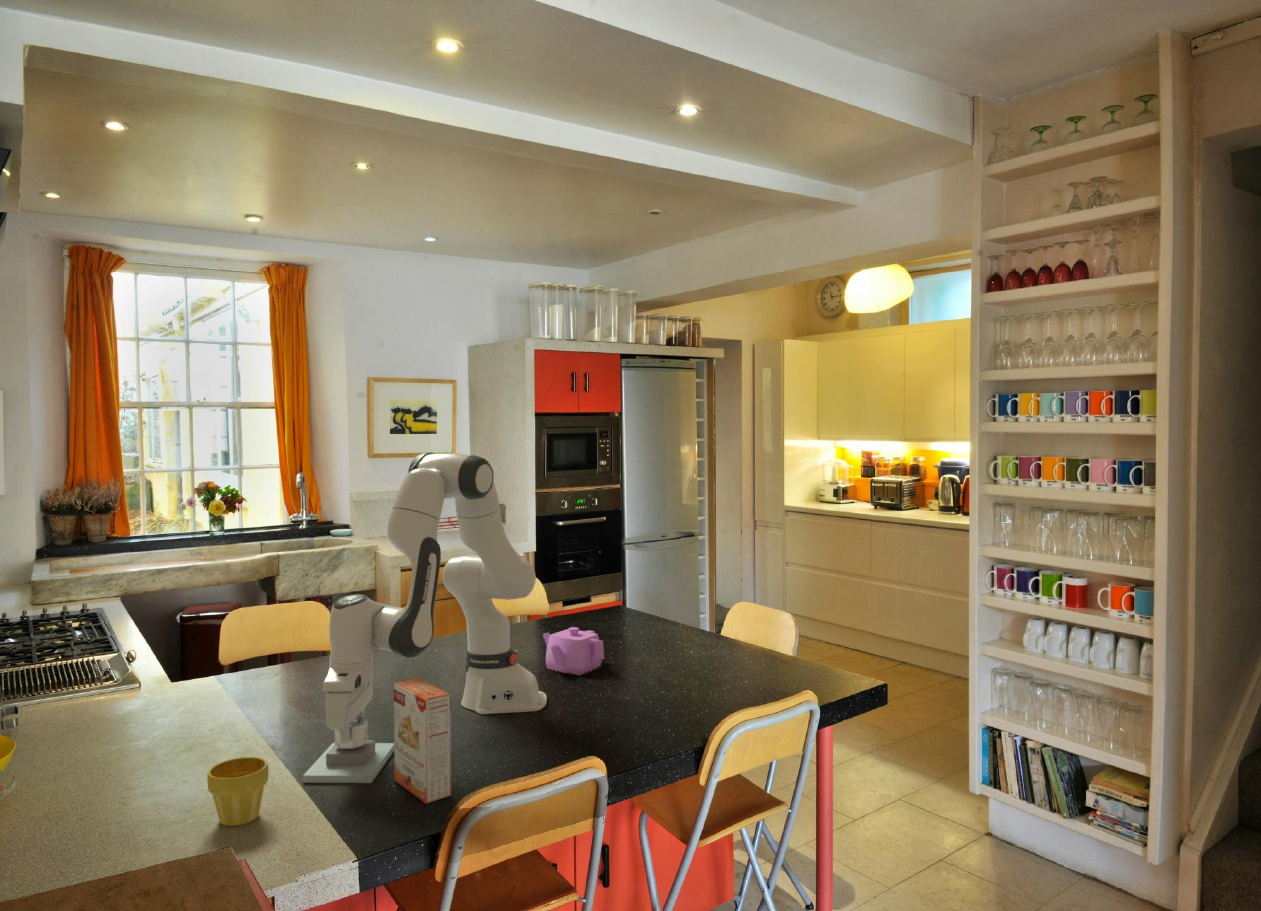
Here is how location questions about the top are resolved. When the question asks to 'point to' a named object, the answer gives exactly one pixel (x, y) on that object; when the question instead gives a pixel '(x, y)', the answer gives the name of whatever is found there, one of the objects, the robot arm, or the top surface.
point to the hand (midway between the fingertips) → (351, 735)
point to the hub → (354, 734)
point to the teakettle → (573, 651)
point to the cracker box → (422, 739)
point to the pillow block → (349, 764)
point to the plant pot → (238, 789)
